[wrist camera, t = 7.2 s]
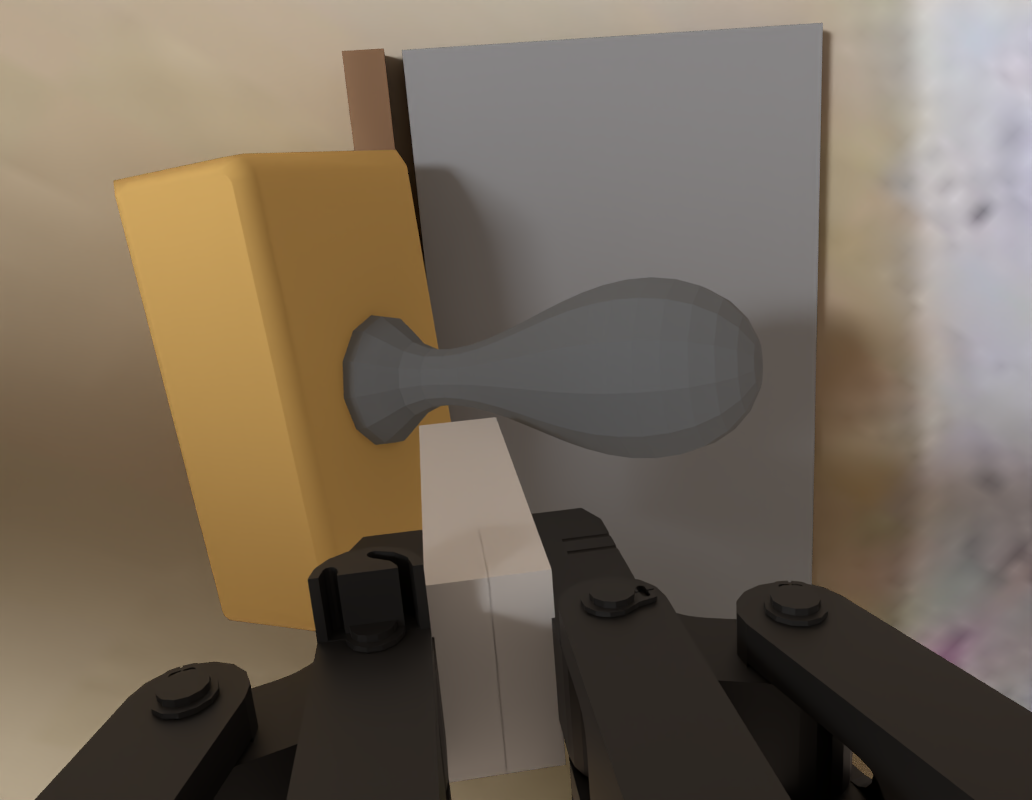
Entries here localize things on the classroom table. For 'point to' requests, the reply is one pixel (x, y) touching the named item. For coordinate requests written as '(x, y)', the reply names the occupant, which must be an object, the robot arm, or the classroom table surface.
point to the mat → (640, 262)
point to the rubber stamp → (378, 360)
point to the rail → (368, 99)
